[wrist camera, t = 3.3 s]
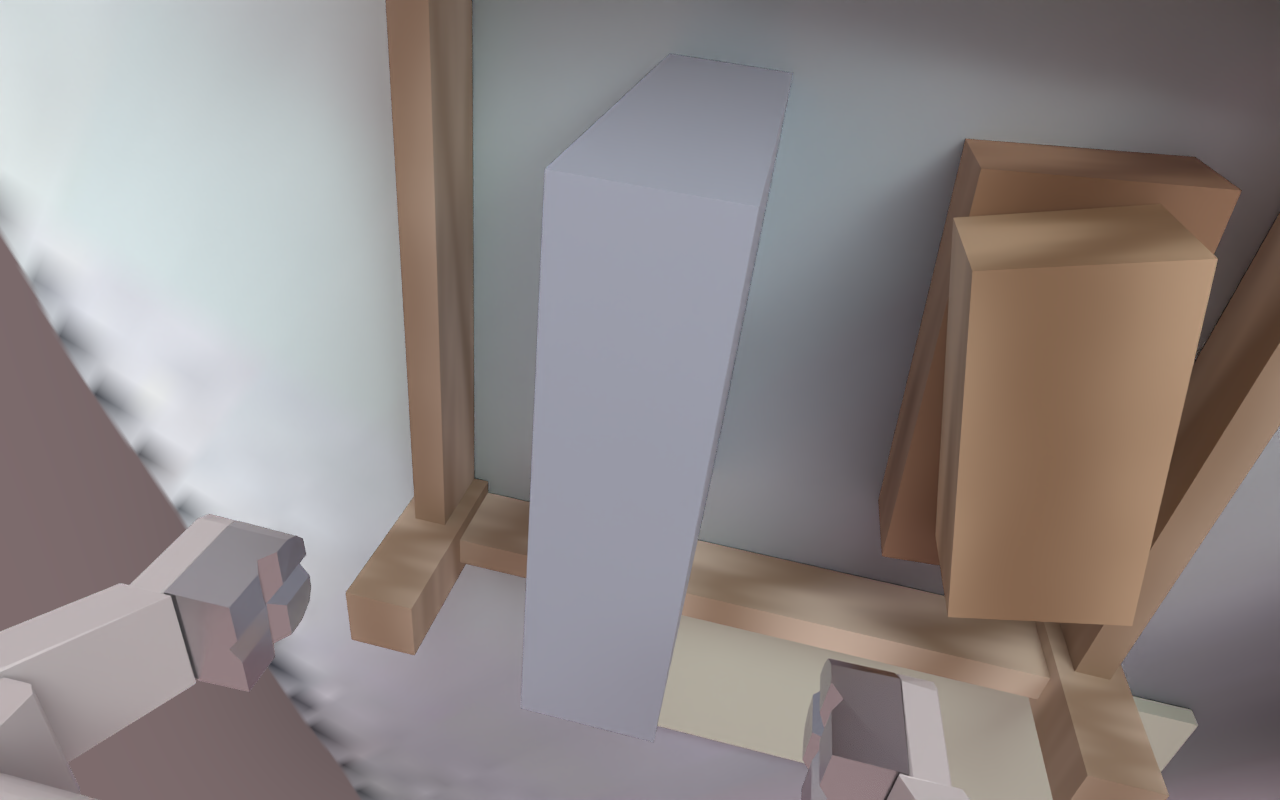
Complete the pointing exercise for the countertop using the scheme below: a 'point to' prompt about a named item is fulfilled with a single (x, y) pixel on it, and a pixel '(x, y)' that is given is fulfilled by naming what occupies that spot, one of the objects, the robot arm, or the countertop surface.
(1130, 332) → the offcut upper
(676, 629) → the lavender grey box
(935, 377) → the offcut lower
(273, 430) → the countertop surface
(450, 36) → the rack
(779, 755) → the mat
